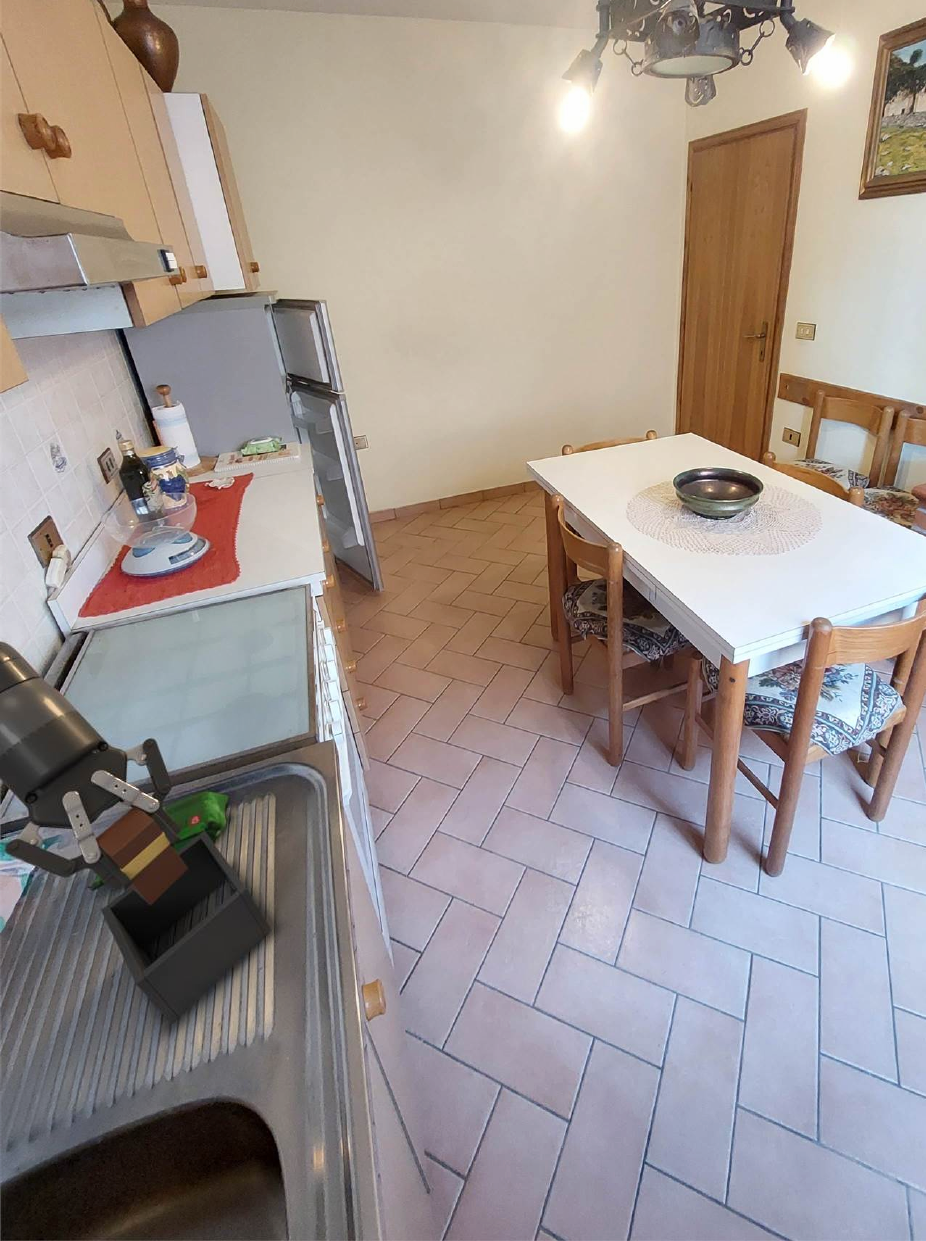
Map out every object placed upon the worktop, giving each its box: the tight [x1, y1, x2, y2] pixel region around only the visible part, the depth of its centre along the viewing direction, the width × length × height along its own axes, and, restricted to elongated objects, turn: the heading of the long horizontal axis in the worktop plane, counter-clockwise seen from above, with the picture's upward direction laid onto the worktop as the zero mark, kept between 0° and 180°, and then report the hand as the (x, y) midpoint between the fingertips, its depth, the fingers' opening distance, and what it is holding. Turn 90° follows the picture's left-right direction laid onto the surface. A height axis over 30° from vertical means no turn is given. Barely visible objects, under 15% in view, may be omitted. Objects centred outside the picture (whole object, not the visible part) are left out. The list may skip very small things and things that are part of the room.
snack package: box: [87, 791, 229, 892], centre depth 76 cm, size 7×16×5 cm, turn 118°
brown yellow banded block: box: [95, 806, 188, 905], centre depth 58 cm, size 4×4×8 cm
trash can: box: [100, 831, 272, 1025], centre depth 64 cm, size 11×11×10 cm
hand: (153, 863), depth 57 cm, fingers closed on brown yellow banded block, 4 cm apart
